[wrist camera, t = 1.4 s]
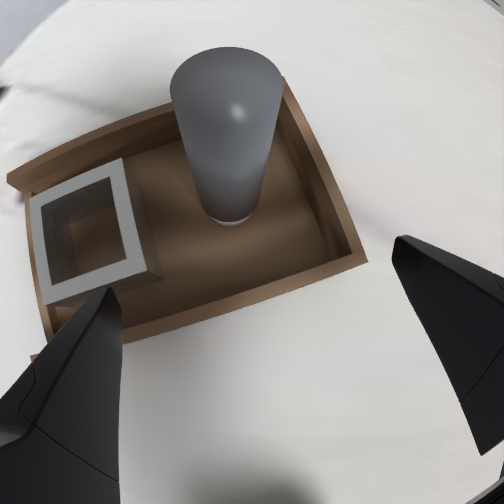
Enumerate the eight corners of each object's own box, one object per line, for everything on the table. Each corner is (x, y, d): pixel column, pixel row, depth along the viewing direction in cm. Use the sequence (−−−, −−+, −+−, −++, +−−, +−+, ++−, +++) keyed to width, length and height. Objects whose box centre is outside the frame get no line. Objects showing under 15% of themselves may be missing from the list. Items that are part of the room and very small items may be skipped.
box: (343, 271, 23) (368, 261, 18) (64, 360, 20) (33, 367, 16) (276, 109, 25) (283, 76, 20) (34, 193, 22) (6, 174, 18)
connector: (246, 238, 22) (262, 142, 9) (193, 219, 22) (149, 110, 9) (264, 188, 23) (296, 63, 10) (214, 171, 23) (199, 39, 10)
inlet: (164, 278, 21) (147, 270, 17) (75, 308, 20) (43, 305, 16) (140, 184, 22) (121, 157, 18) (58, 216, 22) (29, 198, 17)
